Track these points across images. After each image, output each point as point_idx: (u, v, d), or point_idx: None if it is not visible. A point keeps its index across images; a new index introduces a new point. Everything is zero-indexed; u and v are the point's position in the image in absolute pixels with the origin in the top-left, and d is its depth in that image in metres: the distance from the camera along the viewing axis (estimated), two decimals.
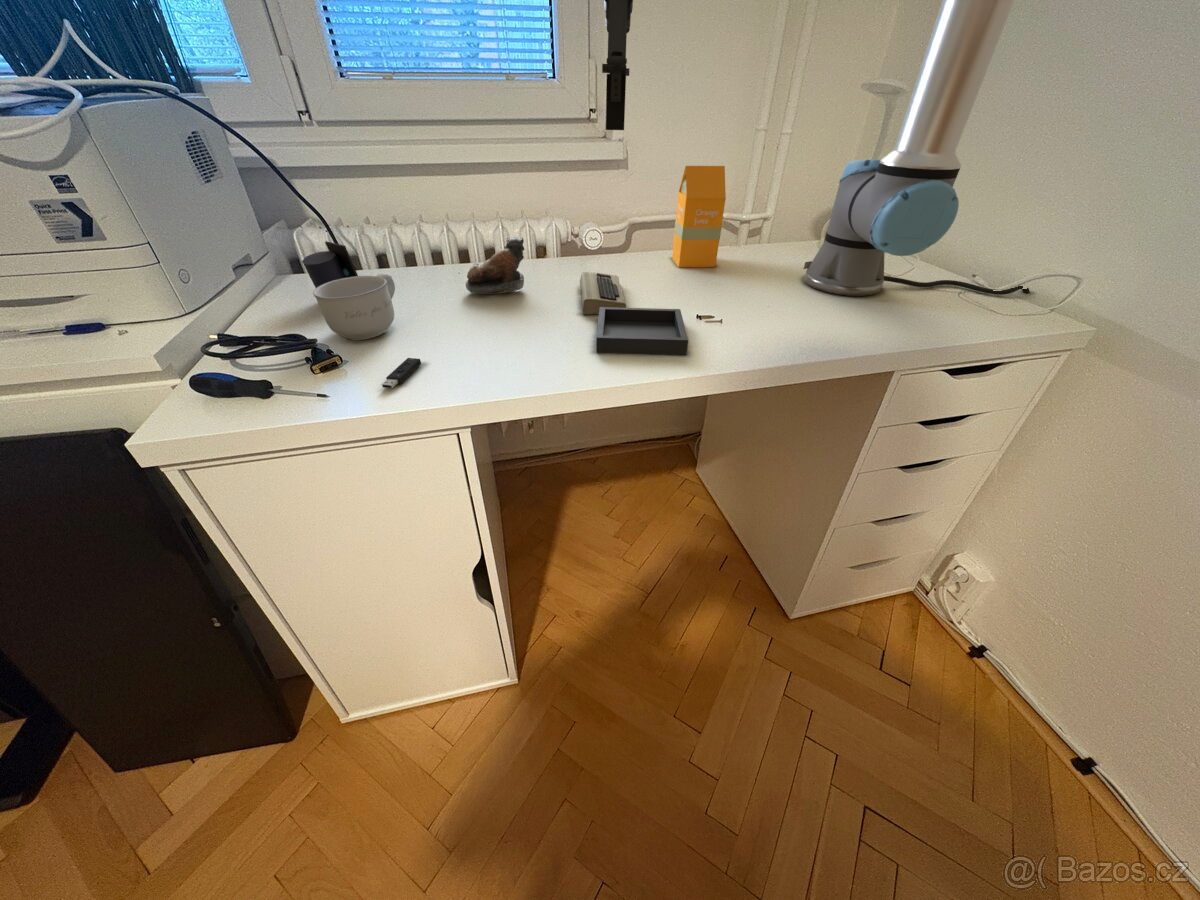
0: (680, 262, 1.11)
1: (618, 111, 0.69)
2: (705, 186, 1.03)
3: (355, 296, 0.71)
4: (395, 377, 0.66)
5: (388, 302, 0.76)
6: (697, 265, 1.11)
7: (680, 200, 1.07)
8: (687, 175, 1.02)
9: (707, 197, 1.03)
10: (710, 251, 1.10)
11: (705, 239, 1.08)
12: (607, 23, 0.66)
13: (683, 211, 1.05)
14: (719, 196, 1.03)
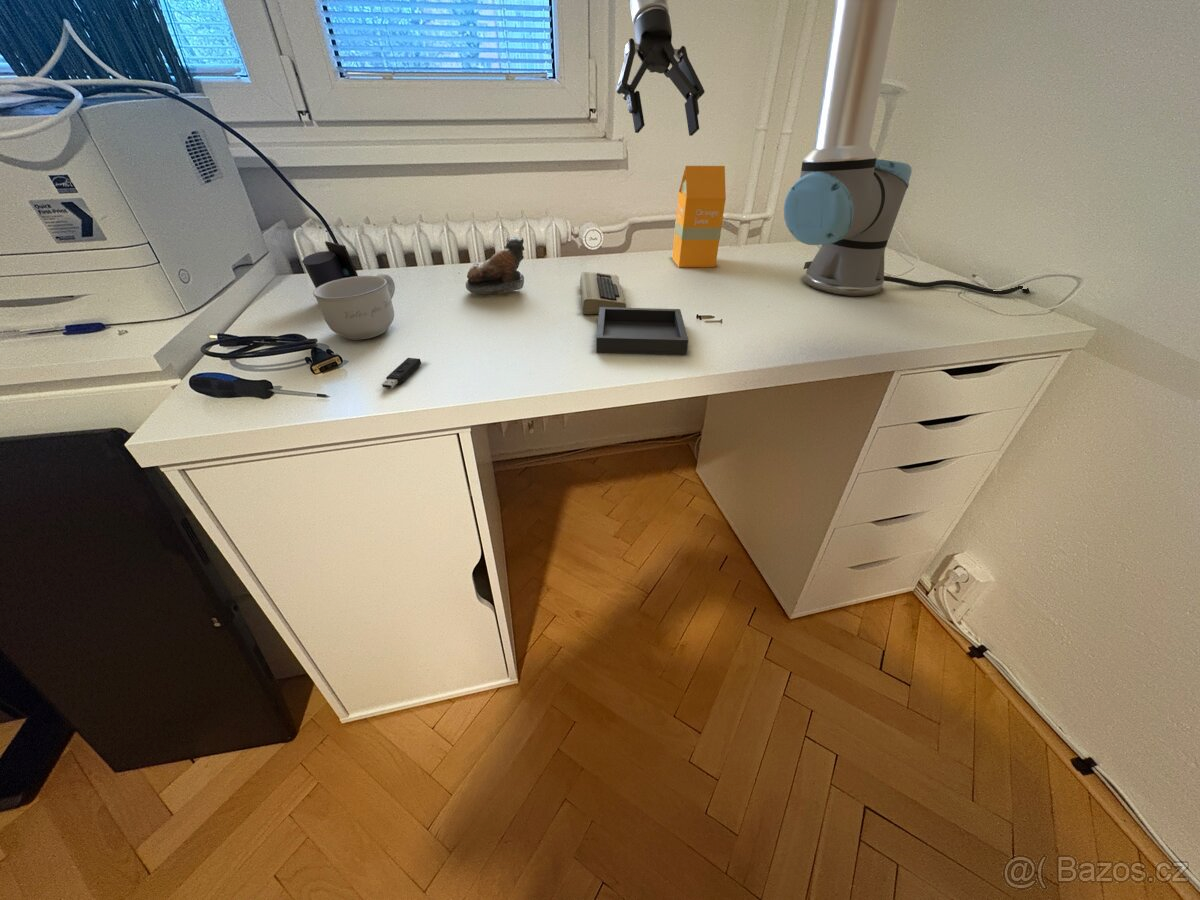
0: (680, 262, 1.11)
1: (637, 116, 0.97)
2: (705, 186, 1.03)
3: (355, 296, 0.71)
4: (395, 377, 0.65)
5: (388, 302, 0.76)
6: (697, 265, 1.11)
7: (680, 200, 1.07)
8: (687, 175, 1.02)
9: (707, 197, 1.03)
10: (710, 251, 1.10)
11: (705, 239, 1.08)
12: None
13: (683, 211, 1.05)
14: (719, 196, 1.03)
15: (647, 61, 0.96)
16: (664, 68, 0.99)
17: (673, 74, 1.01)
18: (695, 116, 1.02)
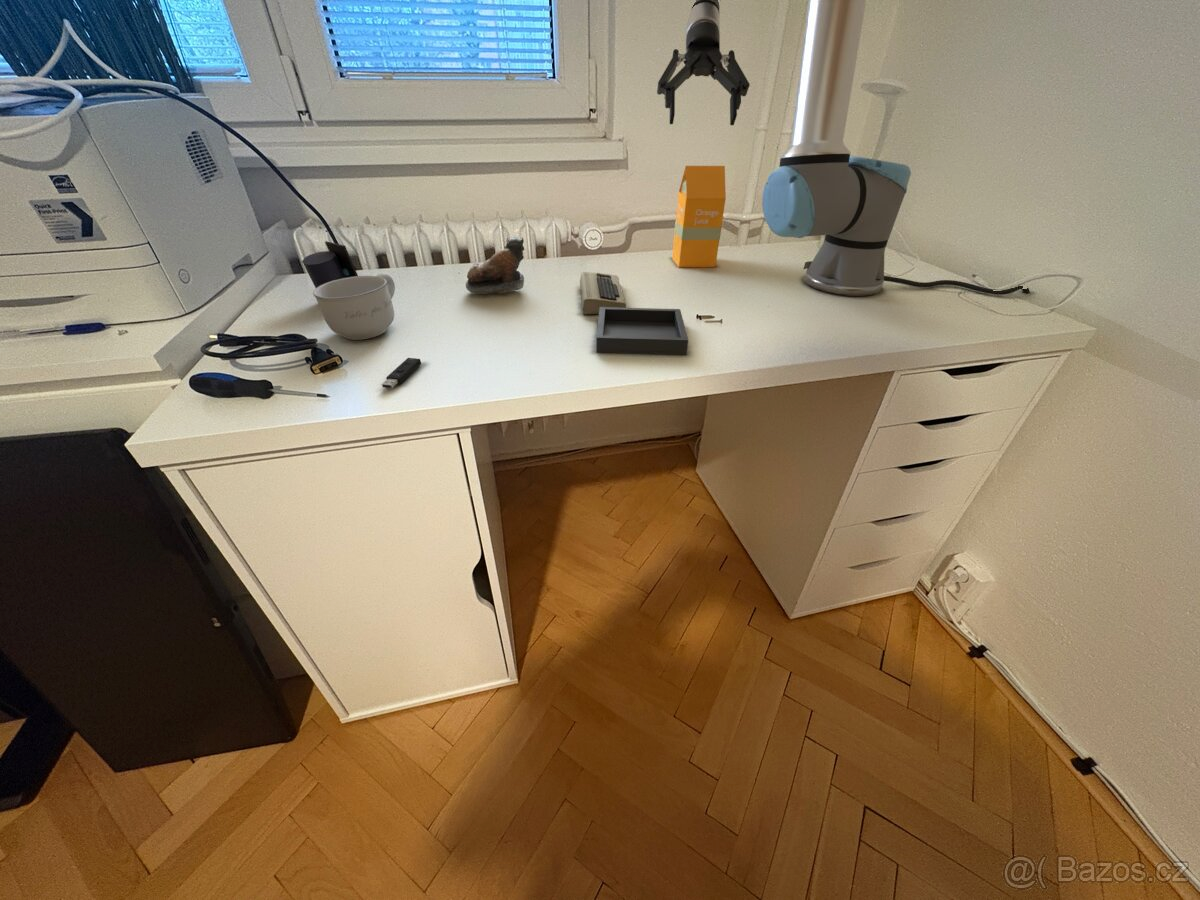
0: (680, 262, 1.11)
1: (670, 108, 1.06)
2: (705, 186, 1.03)
3: (355, 296, 0.71)
4: (395, 377, 0.65)
5: (388, 302, 0.76)
6: (697, 265, 1.11)
7: (680, 200, 1.07)
8: (687, 175, 1.02)
9: (707, 197, 1.03)
10: (710, 251, 1.10)
11: (705, 239, 1.08)
12: None
13: (683, 211, 1.05)
14: (719, 196, 1.03)
15: (688, 64, 1.06)
16: (708, 70, 1.07)
17: (718, 75, 1.08)
18: (734, 105, 1.05)
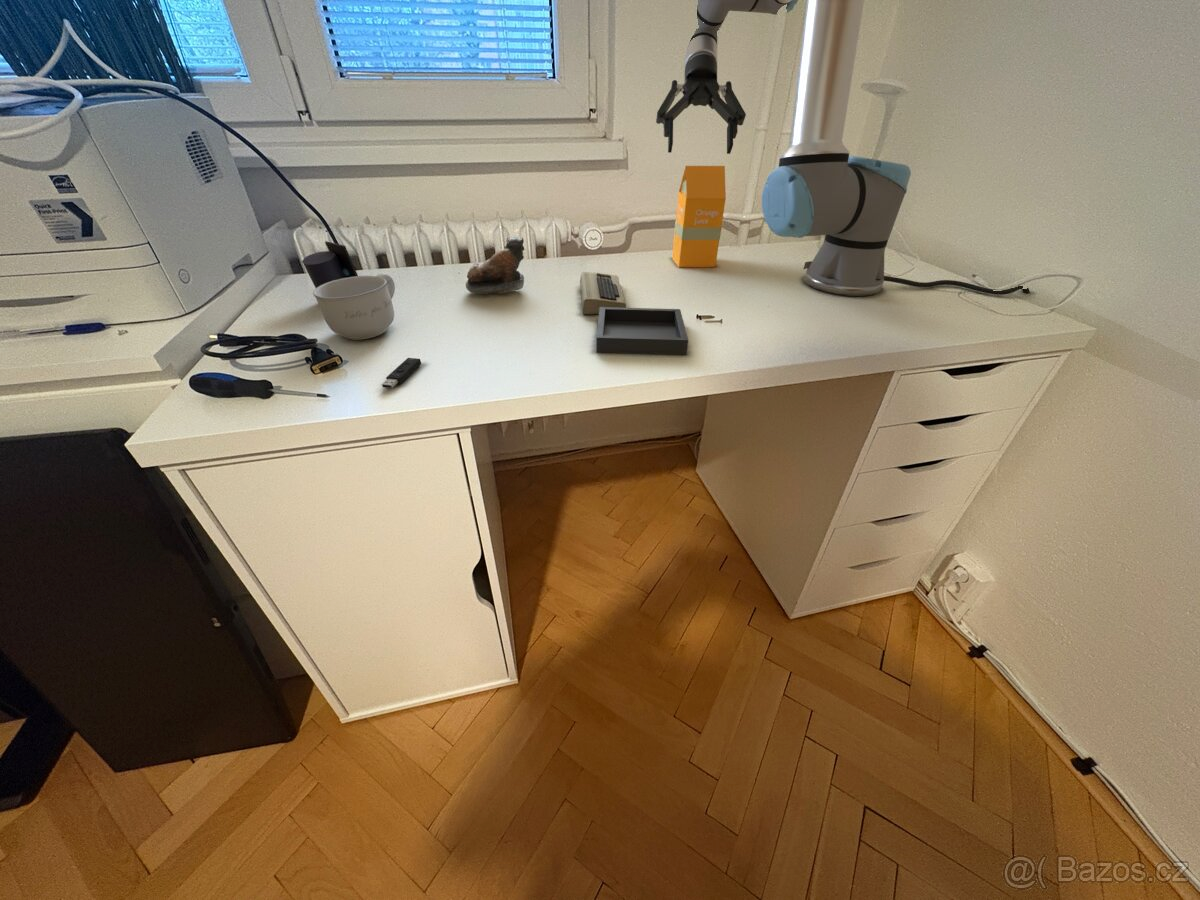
0: (680, 262, 1.11)
1: (669, 137, 1.10)
2: (705, 186, 1.03)
3: (355, 296, 0.71)
4: (395, 377, 0.65)
5: (388, 302, 0.76)
6: (697, 265, 1.11)
7: (680, 200, 1.07)
8: (687, 175, 1.02)
9: (707, 197, 1.03)
10: (710, 251, 1.10)
11: (705, 239, 1.08)
12: None
13: (683, 211, 1.05)
14: (719, 196, 1.03)
15: (686, 95, 1.10)
16: (706, 100, 1.11)
17: (716, 105, 1.11)
18: (730, 135, 1.09)
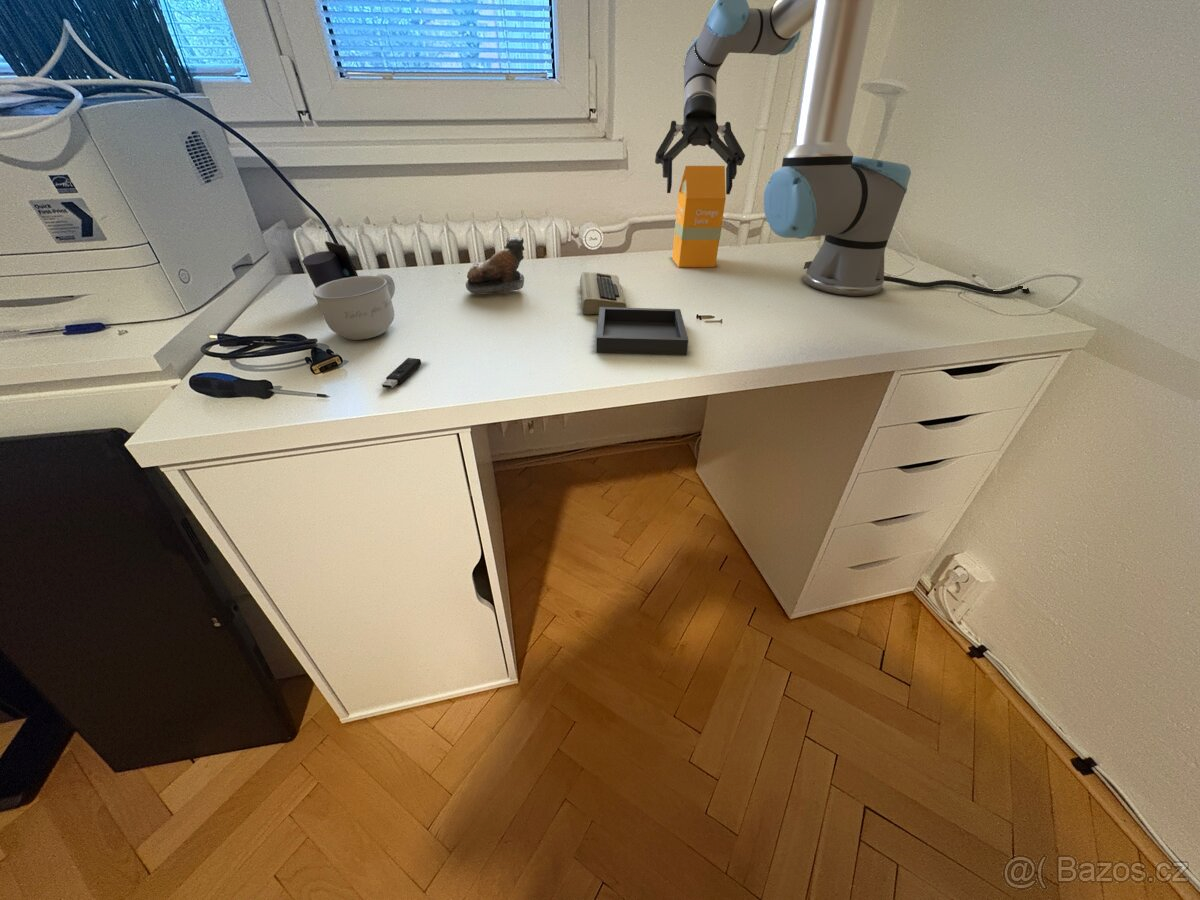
0: (680, 262, 1.11)
1: (668, 178, 1.09)
2: (705, 186, 1.03)
3: (355, 296, 0.71)
4: (395, 377, 0.66)
5: (388, 302, 0.76)
6: (697, 265, 1.11)
7: (680, 200, 1.07)
8: (687, 175, 1.02)
9: (707, 197, 1.03)
10: (710, 251, 1.10)
11: (705, 239, 1.08)
12: None
13: (683, 211, 1.05)
14: (719, 196, 1.03)
15: (685, 136, 1.10)
16: (705, 140, 1.10)
17: (715, 145, 1.11)
18: (729, 176, 1.08)
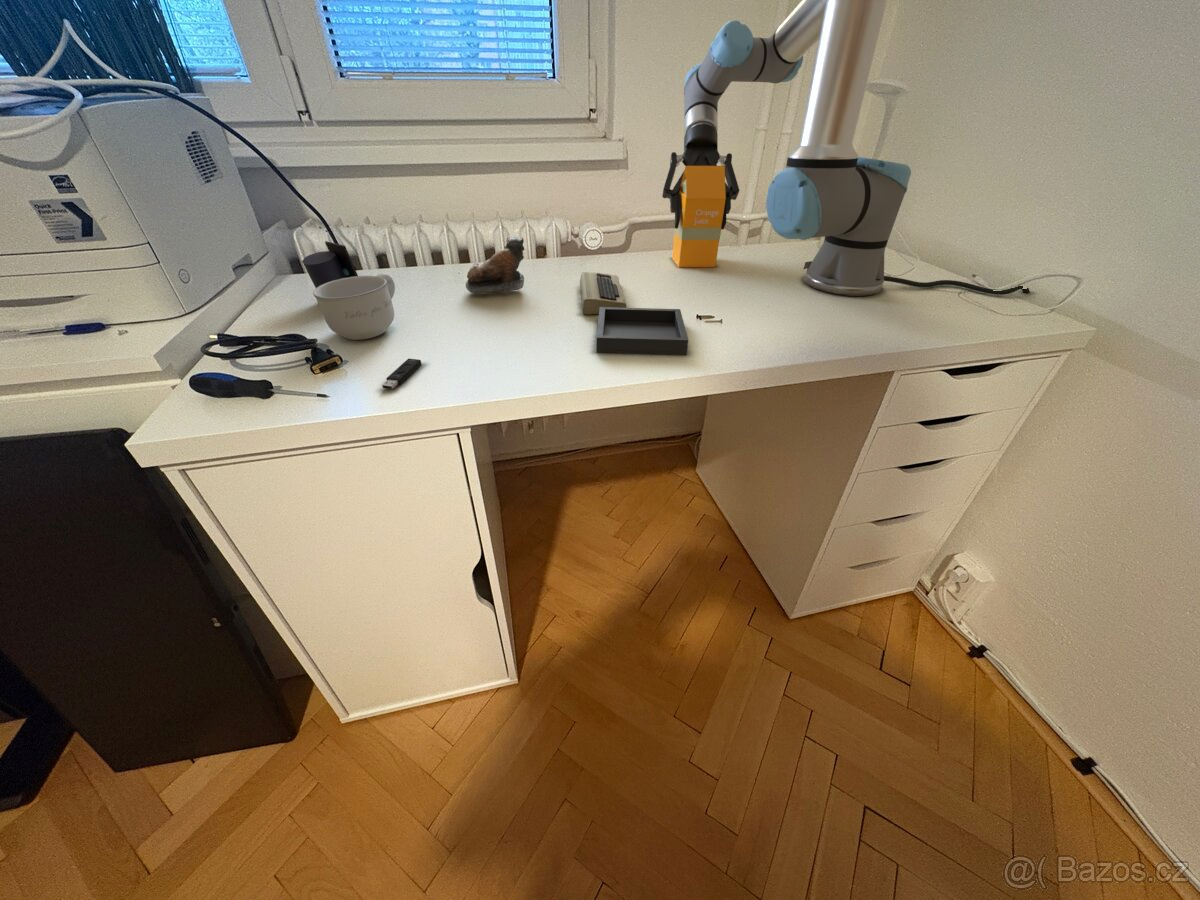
0: (680, 262, 1.11)
1: (675, 214, 1.07)
2: (705, 186, 1.03)
3: (355, 296, 0.71)
4: (395, 378, 0.66)
5: (388, 302, 0.76)
6: (697, 265, 1.11)
7: (680, 200, 1.07)
8: (687, 175, 1.02)
9: (707, 197, 1.03)
10: (710, 251, 1.10)
11: (705, 239, 1.08)
12: None
13: (683, 211, 1.05)
14: (719, 196, 1.03)
15: None
16: None
17: None
18: None
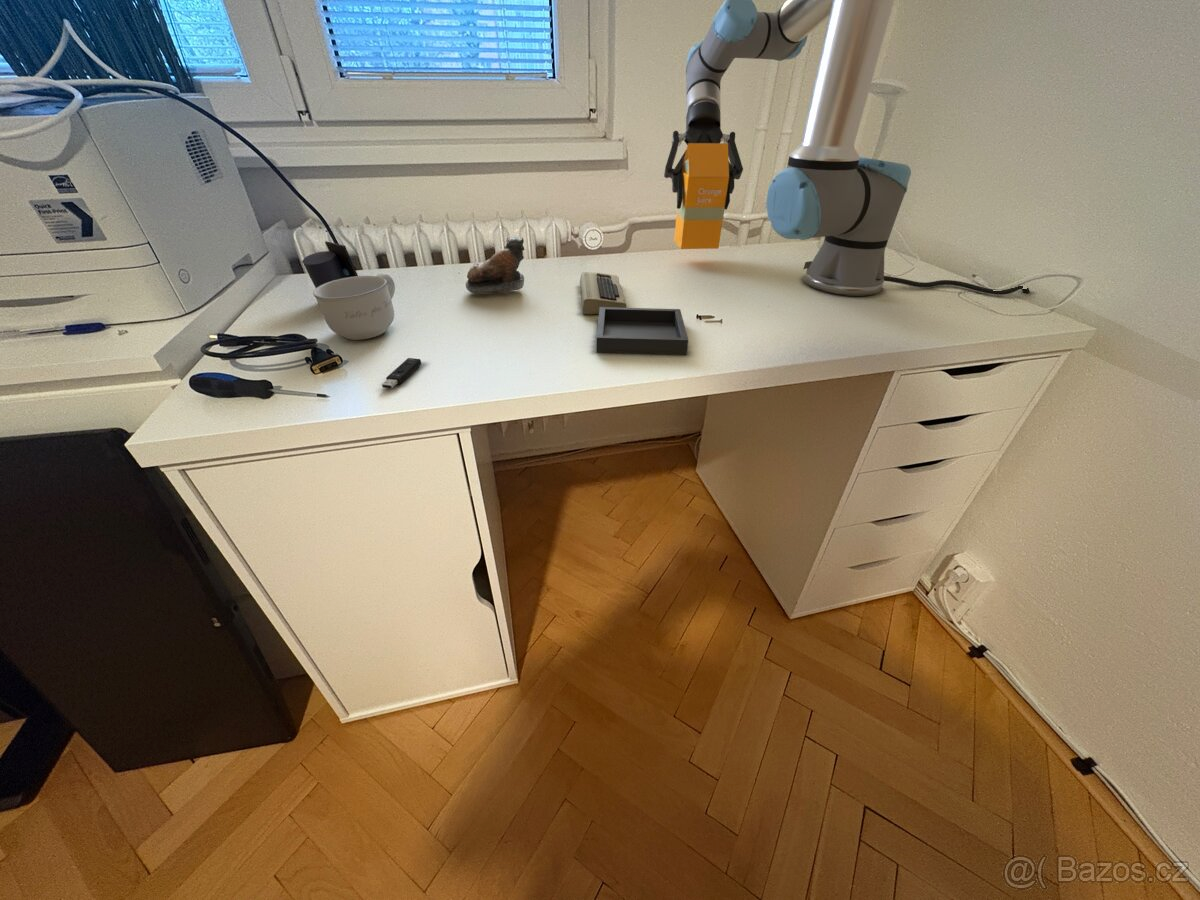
0: (682, 243, 1.08)
1: (678, 193, 1.04)
2: (708, 164, 1.00)
3: (355, 296, 0.71)
4: (395, 377, 0.66)
5: (388, 302, 0.76)
6: (700, 247, 1.09)
7: (682, 179, 1.05)
8: (689, 153, 1.00)
9: (710, 175, 1.00)
10: (713, 232, 1.07)
11: (708, 219, 1.06)
12: None
13: (685, 190, 1.03)
14: (722, 174, 1.01)
15: None
16: None
17: None
18: (727, 191, 1.03)
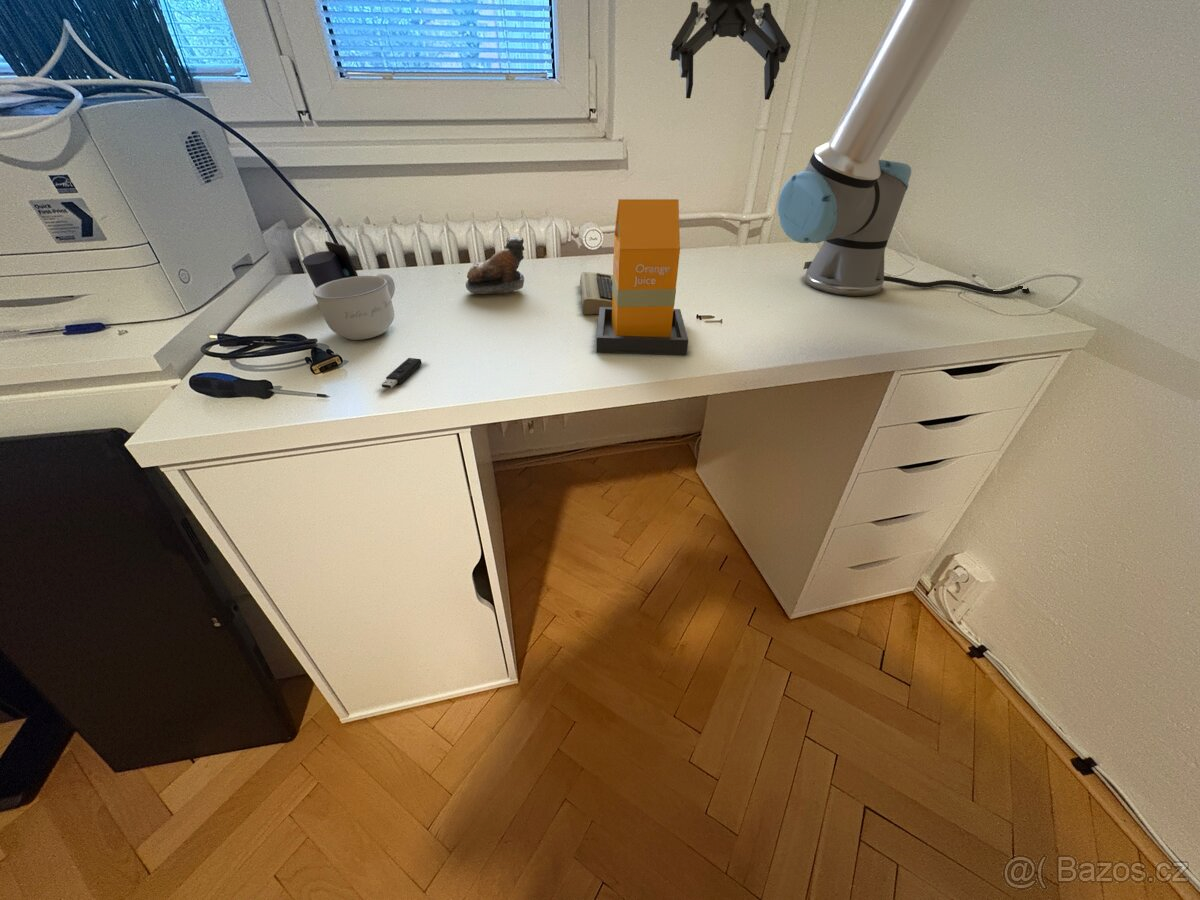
0: None
1: (687, 77, 0.82)
2: (649, 230, 0.68)
3: (355, 296, 0.71)
4: (395, 377, 0.65)
5: (388, 302, 0.76)
6: None
7: (615, 248, 0.72)
8: (621, 214, 0.67)
9: (652, 247, 0.68)
10: (661, 322, 0.75)
11: (653, 305, 0.73)
12: None
13: (617, 266, 0.70)
14: (670, 245, 0.68)
15: (710, 20, 0.82)
16: (736, 28, 0.83)
17: (750, 34, 0.83)
18: (770, 73, 0.81)
